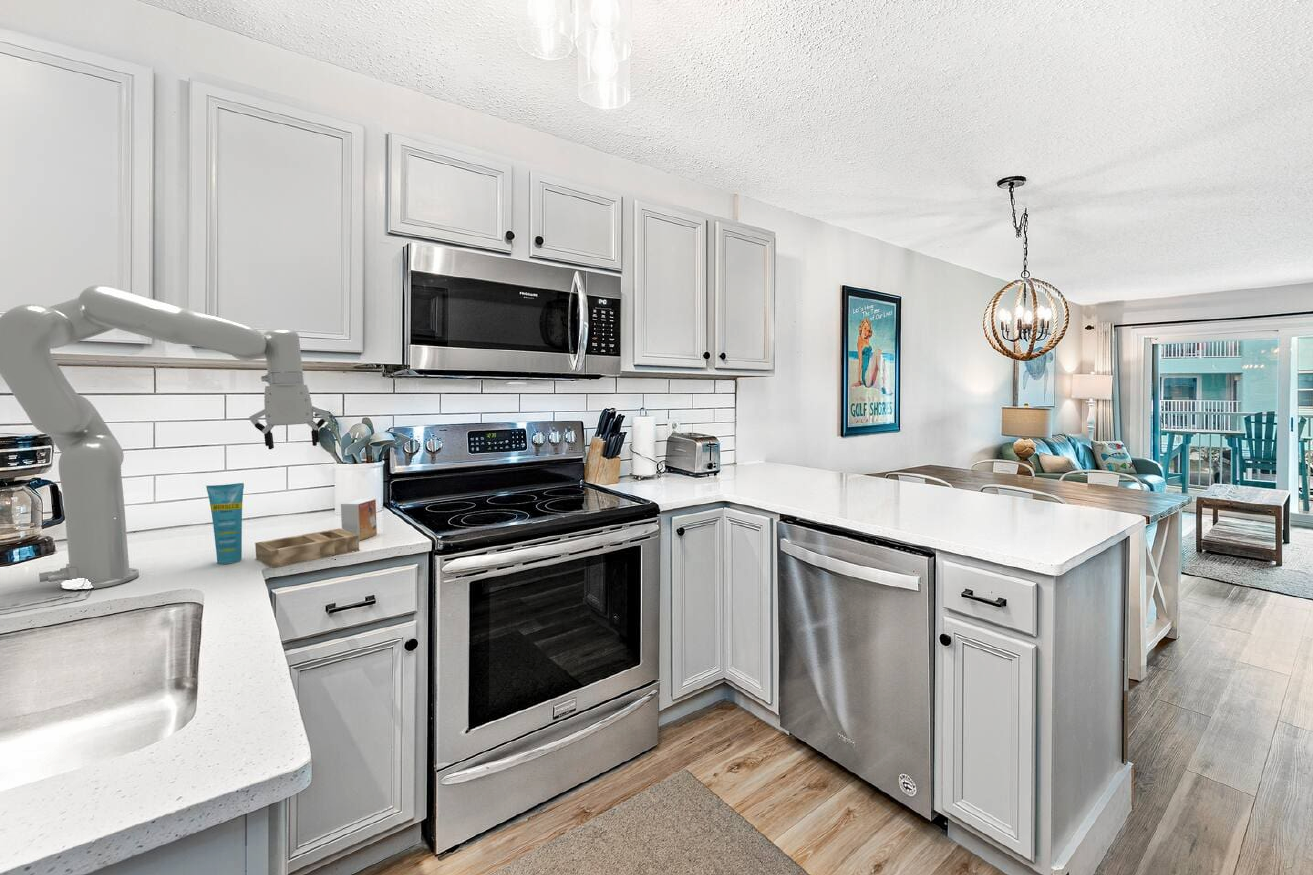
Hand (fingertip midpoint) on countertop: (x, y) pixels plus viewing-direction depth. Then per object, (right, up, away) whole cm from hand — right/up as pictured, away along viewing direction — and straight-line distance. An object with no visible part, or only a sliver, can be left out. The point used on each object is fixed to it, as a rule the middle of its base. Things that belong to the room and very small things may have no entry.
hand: (293, 447), depth 152 cm
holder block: (+4, -27, 0) cm, 28 cm away
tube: (-12, -28, -6) cm, 31 cm away
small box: (+8, -26, +18) cm, 33 cm away
